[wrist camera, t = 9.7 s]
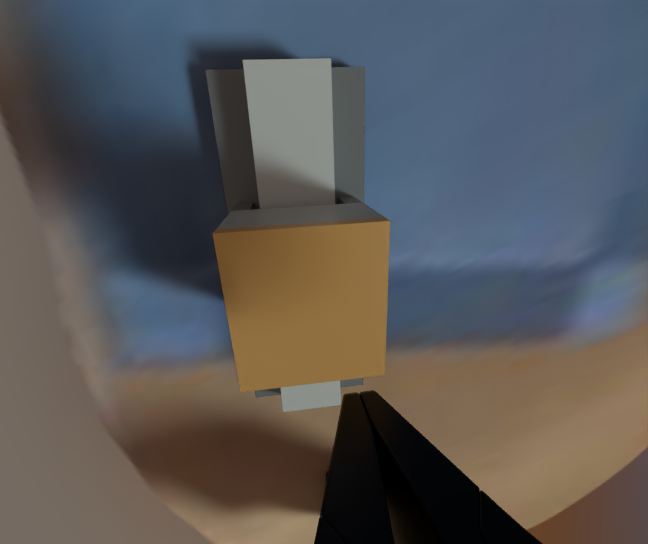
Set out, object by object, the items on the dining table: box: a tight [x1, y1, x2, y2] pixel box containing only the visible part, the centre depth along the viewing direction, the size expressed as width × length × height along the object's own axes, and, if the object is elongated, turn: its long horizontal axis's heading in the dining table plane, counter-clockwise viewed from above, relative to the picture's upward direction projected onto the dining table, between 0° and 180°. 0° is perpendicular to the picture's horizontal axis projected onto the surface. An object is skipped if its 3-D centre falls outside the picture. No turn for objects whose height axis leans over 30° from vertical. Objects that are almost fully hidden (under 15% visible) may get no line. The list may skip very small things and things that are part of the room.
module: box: [212, 196, 390, 392], centre depth 14 cm, size 6×6×6 cm
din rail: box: [205, 58, 365, 412], centre depth 17 cm, size 18×7×2 cm, turn 2°
